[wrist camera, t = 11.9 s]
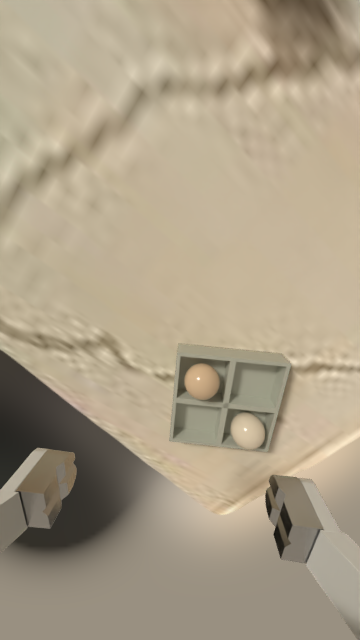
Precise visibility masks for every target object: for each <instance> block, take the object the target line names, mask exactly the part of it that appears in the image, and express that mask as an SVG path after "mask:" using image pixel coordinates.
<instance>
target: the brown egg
mask: <svg viewBox="0 0 360 640" xmlns="http://www.w3.org/2000/svg"><path fill="white" fill-rule="evenodd" d="M184 383H185V388H186V390H187V392H188V393H189V394H190V395H191V396H192V397H194V398H195V399H198V400H207V399H210V398H212V397H213V396H214V395H215V394H216V393H217V391H218V389H219V386H220V379H219V375H218V373H217V371H216V370H215V369H214V368H213V367H212V366H210V365H208V364H205V363H199V364H195V365H193V366H192V367H190V368H189V369H188V371H187V372H186V375H185V379H184Z"/></svg>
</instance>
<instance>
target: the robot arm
mask: <svg viewBox="0 0 360 640" xmlns="http://www.w3.org/2000/svg"><path fill="white" fill-rule="evenodd" d="M74 460H75V455H74V453H72V452H64V451H57V450H50V449H43V448H37V449H36V450H34V451H33V452H32V453H31V454H30V455H29V457H28V458H27V459H26V460H25V462H24V463H23V464H22V465H21V466H20V468H19V469H18V470H17V471H16V472H15V473H14V475H13V476H12V477H11V478H10V479H9V480H8V482H7V483H6V484H5V485H4V486H3V488H2V489H1V490H0V553H1V552H3V551H4V550H5V549H6V548H7V547H8V546H9V545H10V544H11V543H12V542H13V541H14V540H15V539H16V538H17V537H18V536H20V535H21V534H22V533H23V532H24V531H25V530H26V529H27V526H29V527H39V528H51V526H52V524H53V522H54V520H55V519H56V517H57V515H58V513H59V511H60V509H61V508H62V504H61V500H62V499H63V498H64V497H66V496H67V495H68V494H69V492H70V490H71V489H72V486H73V484H74V481H75V478H76V466H75V465H74V464H73V461H74ZM269 483H270V487H269V488H268V489H267V490H266V495H265V496H266V508H267V513H268V516H269V519H270V520H271V522H272V523H273V525H274V526H275V527H276V528H275V531H274V538H275V541H276V544H277V548H278V551H279V555H280V558H281V559H282V560H288V561H294V562H300V563H306V566H307V568H308V569H309V570H310V572H311V573H312V575H313V576H314V578H315V579H316V581H317V582H318V583H319V585H320V586H321V588H322V589H323V591H324V592H325V593H326V594H327V596H328V598H329V599H330V600H331V602H332V604H333V605H334V606H335V608H336V609H337V611H338V612H339V613H340V615H341V616H342V618H343V619H344V621H345V622H346V624H347V625H348V626H349V628H350V629H351V631H352V632H353V634H354V635H355V637H356V638H357V639H358V640H360V547H359V546H358V545H357V544H356V543H355V542H354V541H353V540H352V539H351V538H350V537H349V536H348V535H347V534H346V533H343V532H341V531H340V529H339V527H338V525H337V524H336V522H335V520H334V518H333V516H332V514H331V513H330V511H329V509H328V507H327V505H326V503H325V502H324V500H323V498H322V496H321V494H320V492H319V490H318V488H317V487H316V485H315V483H314V482H313V481H312V480H311V479H304V478H297V477H288V476H278V475H272V476H270V479H269Z"/></svg>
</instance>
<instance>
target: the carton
mask: <svg viewBox="0 0 360 640" xmlns="http://www.w3.org/2000/svg"><path fill="white" fill-rule="evenodd" d="M199 363H205V364H208V365H210V366H212V367H213V368H214V369H215V370H216V371H217V373H218V375H219V379H220V386H219V389H218V391H217V393H216V394H215V395H214V396H213V397H212V398H210V399H207V400H198V399H195V398H194V397H192V396H191V395H190V394H189V393H188V392H187V390H186V388H185V383H184V379H185V375H186V372H187V371H188V369H189V368H190V367H192V366H193V365H195V364H199ZM290 367H291V363H290V362H289V361H288V360H287V359H286V358H285V357H284V355H283V354H280V353H270V352H260V351H250V350H240V349H230V348H219V347H209V346H199V345H189V344H179V343H178V350H177V359H176V371H175V382H174V394H173V405H172V417H171V428H170V439H169V441H172V442H181V443H190V444H199V445H208V446H217V447H226V448H235V449H244V448H242V447H240V446H239V445H238V444H237V443H236V442H235V441H234V439H233V437H232V435H231V430H230V427H231V422H232V420H233V418H234V417H235V416H236V415H238V414H240V413H243V412H247V413H251V414H253V415H255V416H257V417H258V418H259V419H260V421H261V422H262V424H263V426H264V429H265V439H264V442H263V443H262V445H261V446H260V447H258V448H257V449H254V450H253V451H262V452H268V449H269V445H270V442H271V438H272V434H273V431H274V427H275V423H276V419H277V416H278V412H279V408H280V404H281V401H282V397H283V393H284V390H285V386H286V382H287V378H288V375H289V371H290ZM244 450H247V449H244Z"/></svg>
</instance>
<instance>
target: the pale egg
mask: <svg viewBox="0 0 360 640" xmlns="http://www.w3.org/2000/svg"><path fill="white" fill-rule="evenodd" d="M230 430H231V435H232V437H233V439H234V441H235V442H236V443H237V444H238V445H239V446H240V447H242V448H244V449H247V450H254V449H257V448H258V447H260V446H261V445H262V443H263V442H264V439H265V429H264V426H263V424H262V422H261V421H260V419H259V418H258V417H257V416H255V415H253V414H251V413H247V412H243V413H240V414H238V415H236V416H235V417H234V418H233V420H232V422H231V427H230Z"/></svg>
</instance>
